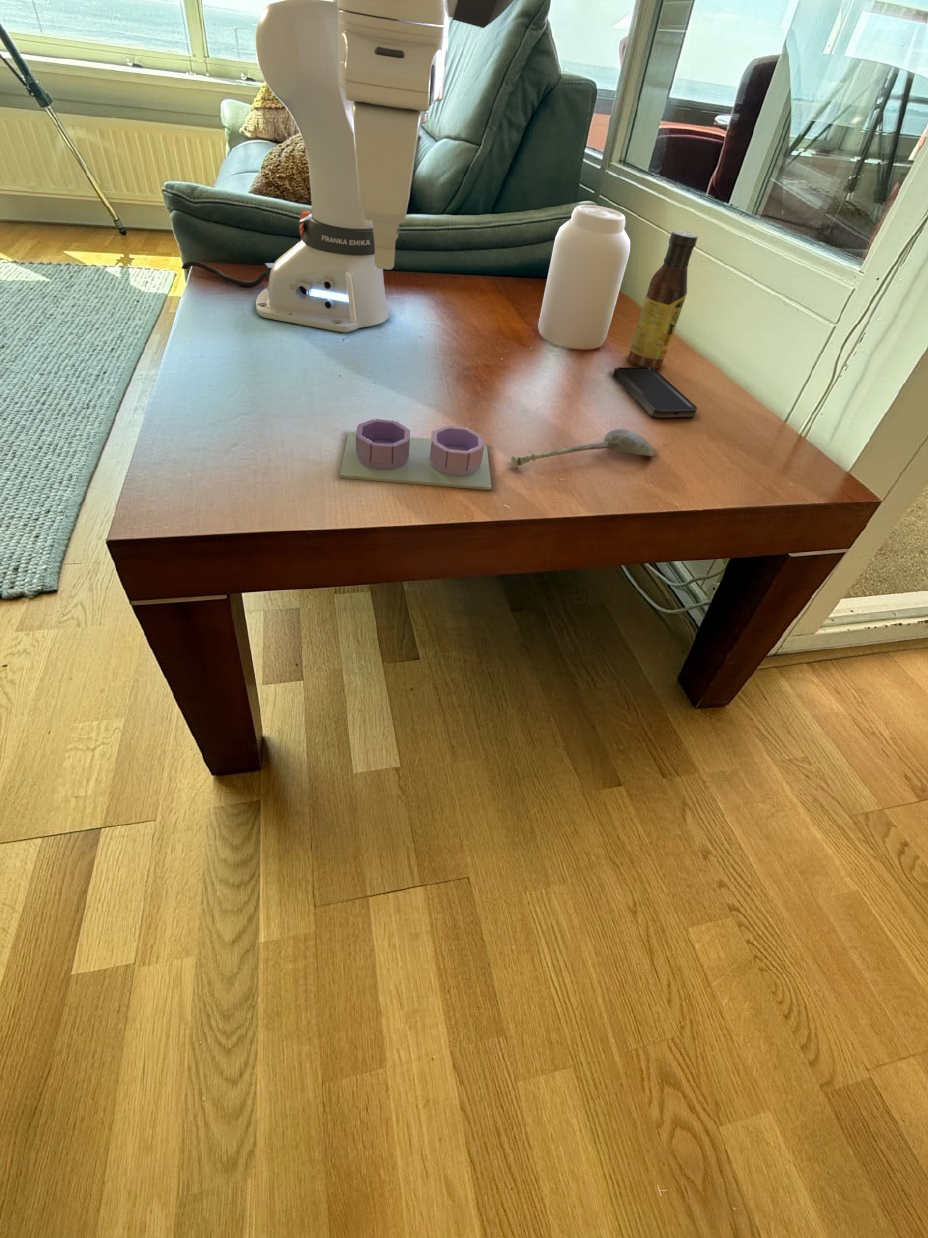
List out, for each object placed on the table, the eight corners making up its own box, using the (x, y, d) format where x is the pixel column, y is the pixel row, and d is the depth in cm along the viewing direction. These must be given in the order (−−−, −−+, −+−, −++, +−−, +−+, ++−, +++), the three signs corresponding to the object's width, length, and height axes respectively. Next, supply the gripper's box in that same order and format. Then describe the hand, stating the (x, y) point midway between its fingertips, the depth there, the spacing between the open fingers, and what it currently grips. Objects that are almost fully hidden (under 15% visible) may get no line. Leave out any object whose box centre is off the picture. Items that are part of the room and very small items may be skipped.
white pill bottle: (589, 357, 109) (624, 225, 95) (525, 336, 112) (549, 205, 98) (614, 337, 117) (649, 213, 103) (553, 318, 120) (579, 195, 106)
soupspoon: (661, 465, 87) (633, 443, 91) (669, 442, 84) (641, 421, 89) (523, 481, 78) (499, 455, 82) (528, 456, 76) (503, 431, 80)
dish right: (429, 473, 76) (431, 450, 74) (429, 446, 81) (431, 423, 78) (481, 478, 77) (485, 455, 75) (478, 451, 81) (482, 428, 79)
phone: (652, 367, 106) (700, 409, 96) (650, 373, 107) (697, 416, 97) (611, 367, 104) (655, 411, 94) (609, 374, 105) (653, 418, 95)
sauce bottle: (662, 373, 108) (707, 243, 94) (626, 366, 108) (666, 235, 94) (661, 358, 112) (704, 232, 98) (627, 351, 113) (665, 225, 99)
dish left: (354, 467, 75) (354, 443, 73) (358, 440, 80) (358, 416, 77) (407, 472, 76) (409, 448, 74) (409, 444, 80) (410, 421, 78)
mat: (340, 477, 74) (339, 474, 74) (348, 434, 81) (348, 432, 81) (491, 490, 76) (491, 487, 76) (486, 447, 83) (486, 444, 83)
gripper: (364, 50, 59) (363, 219, 69) (341, 71, 45) (344, 281, 54) (431, 61, 60) (421, 227, 70) (430, 84, 45) (417, 290, 55)
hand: (387, 251), depth 62 cm, fingers open, 8 cm apart
